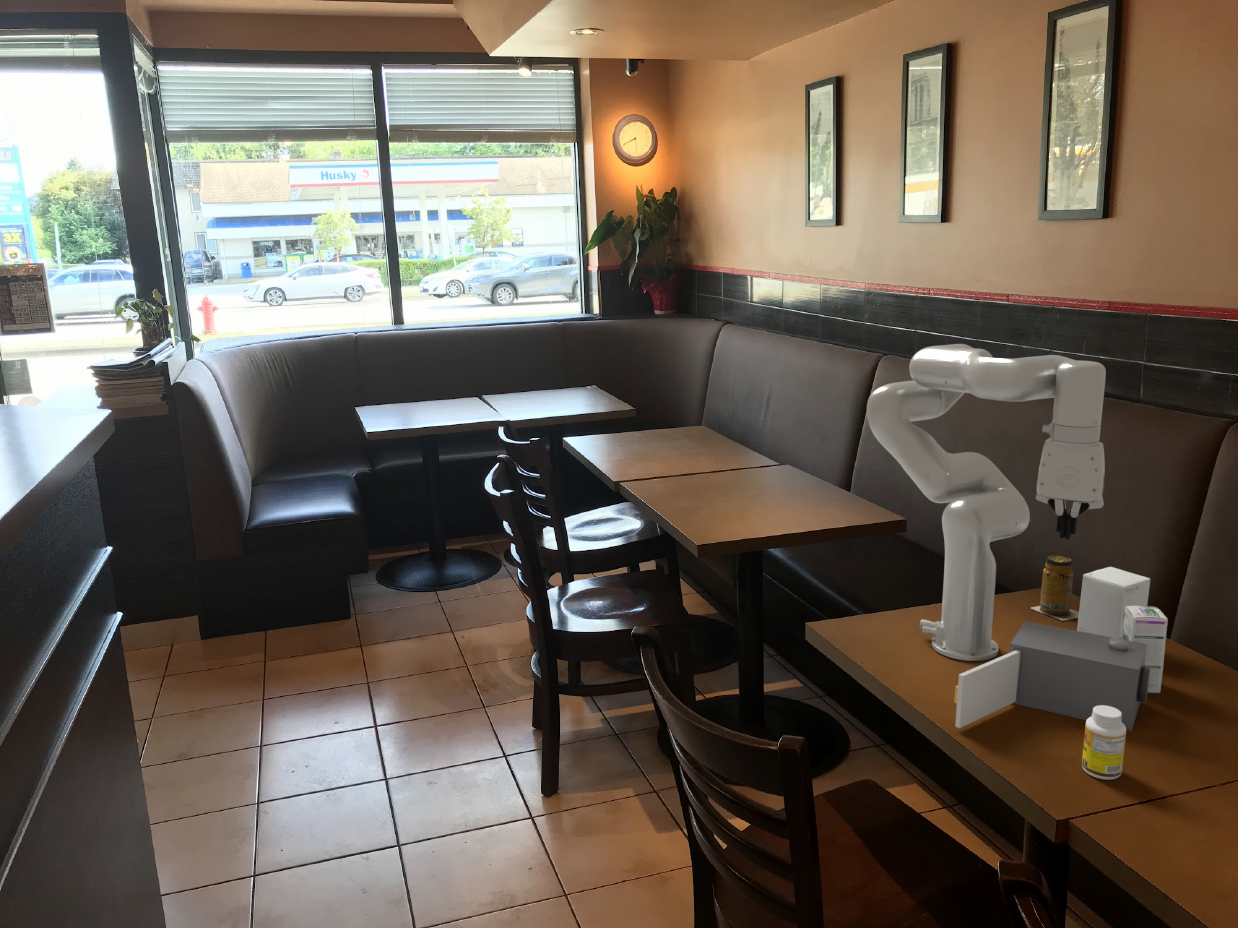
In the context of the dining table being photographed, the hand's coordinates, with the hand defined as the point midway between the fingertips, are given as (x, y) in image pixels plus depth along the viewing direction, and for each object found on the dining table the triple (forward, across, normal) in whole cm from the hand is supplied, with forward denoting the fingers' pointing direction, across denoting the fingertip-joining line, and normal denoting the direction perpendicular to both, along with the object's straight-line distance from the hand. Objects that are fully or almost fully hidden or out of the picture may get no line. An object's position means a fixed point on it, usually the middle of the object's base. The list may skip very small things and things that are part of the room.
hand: (1065, 536), depth 169 cm
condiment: (+29, -6, +40) cm, 50 cm away
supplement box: (+29, +6, +26) cm, 40 cm away
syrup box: (+29, +13, +10) cm, 34 cm away
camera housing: (+29, +4, -3) cm, 30 cm away
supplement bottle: (+29, +12, -25) cm, 40 cm away
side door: (+28, -8, -17) cm, 34 cm away
